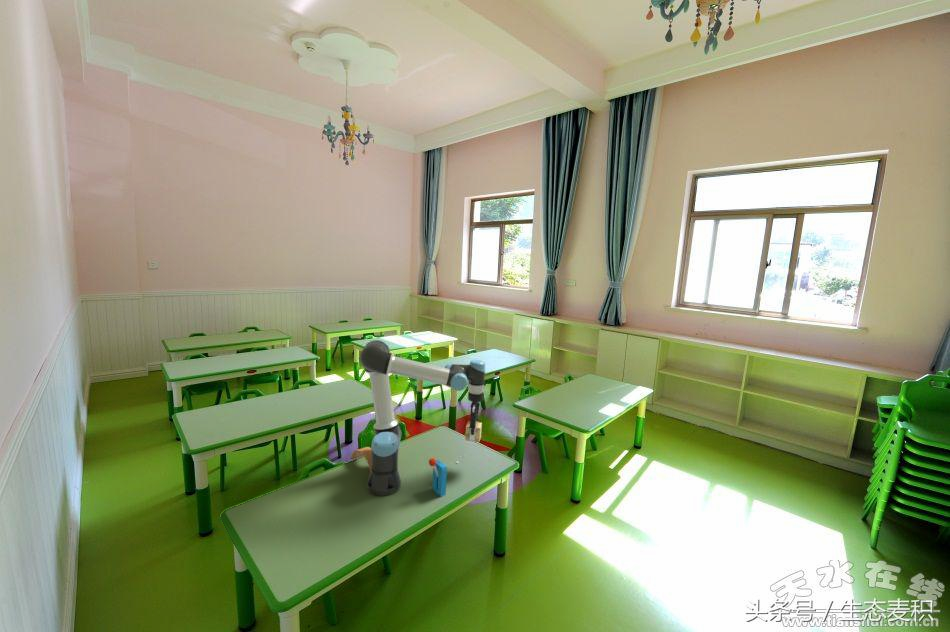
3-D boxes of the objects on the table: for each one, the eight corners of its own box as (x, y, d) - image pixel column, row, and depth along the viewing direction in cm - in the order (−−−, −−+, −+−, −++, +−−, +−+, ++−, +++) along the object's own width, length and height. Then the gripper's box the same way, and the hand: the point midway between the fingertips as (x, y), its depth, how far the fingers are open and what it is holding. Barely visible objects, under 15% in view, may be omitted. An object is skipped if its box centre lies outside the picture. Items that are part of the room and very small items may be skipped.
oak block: (465, 440, 189) (466, 426, 188) (467, 434, 196) (468, 421, 195) (479, 442, 188) (480, 428, 187) (481, 436, 195) (481, 422, 194)
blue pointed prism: (423, 494, 173) (425, 456, 171) (436, 489, 177) (438, 452, 175) (432, 502, 168) (433, 462, 165) (445, 496, 172) (447, 458, 170)
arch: (371, 479, 183) (371, 459, 182) (350, 463, 197) (350, 444, 196) (381, 475, 187) (382, 455, 186) (360, 459, 201) (361, 441, 200)
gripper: (481, 399, 179) (478, 446, 182) (485, 386, 198) (482, 429, 201) (465, 397, 180) (462, 444, 182) (471, 385, 199) (468, 428, 202)
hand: (473, 436), depth 192 cm, fingers closed on oak block, 7 cm apart
